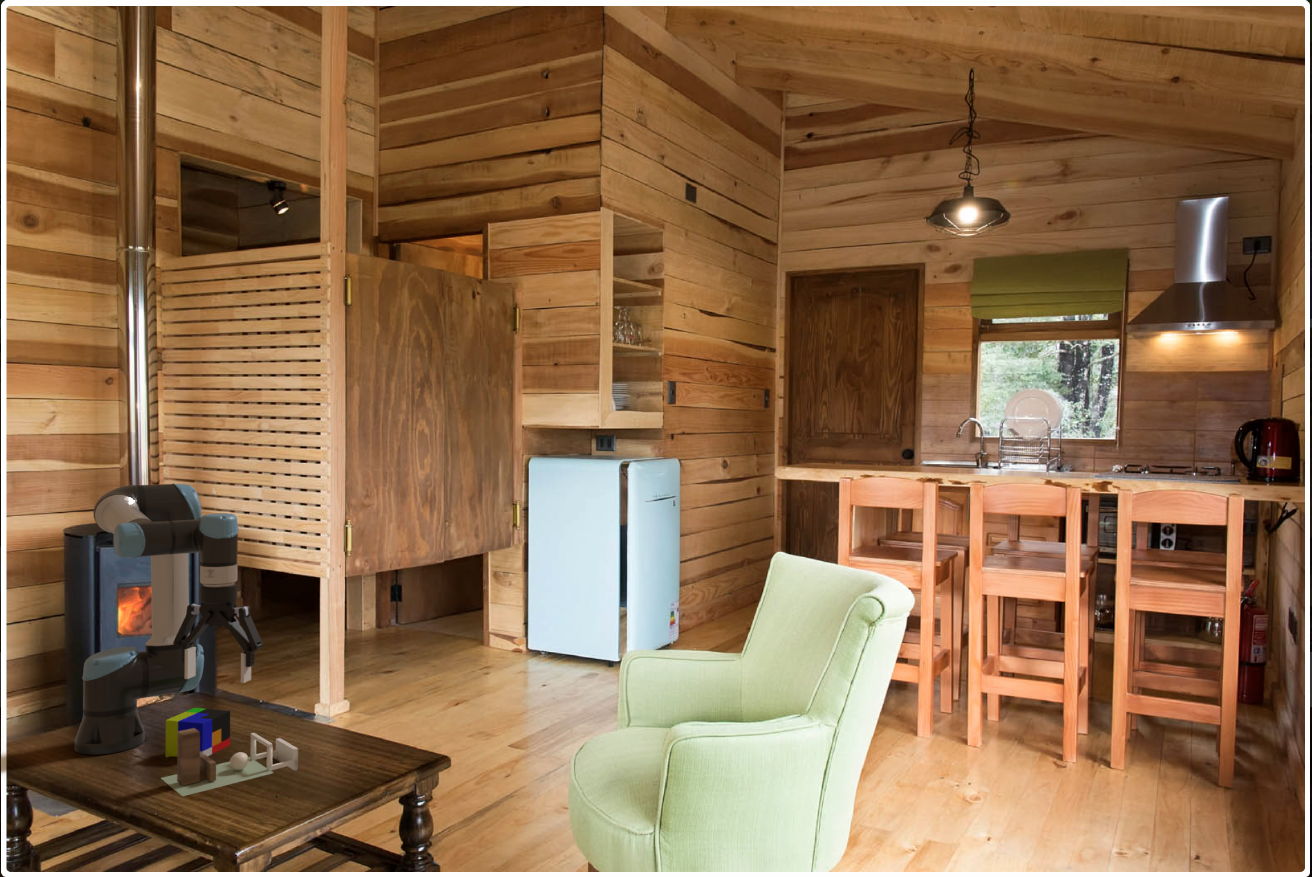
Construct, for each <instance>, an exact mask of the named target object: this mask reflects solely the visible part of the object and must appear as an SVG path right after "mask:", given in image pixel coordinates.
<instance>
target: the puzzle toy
mask: <svg viewBox="0 0 1312 877" xmlns="http://www.w3.org/2000/svg"><path fill="white" fill-rule="evenodd" d="M192 728H195V729H196V730H198V731H199V732H200V755H203V754H205V755H206V756H208V757H209V756H211V755H213V754H215V753H217V752H219V751H220V750H222V749H224V748H227V747H229V746H230V745H231V710H226V709H225V710H224V709H212V708H202V707H201V708H200V707H194V708H191V709H189V710H186V711H183V712H182V713H180V714H177V715H175V716H172V717H170V718H168V719H166V720H165V758H169V757H177V732H178V731H183V730H188V729H192Z"/></svg>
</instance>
